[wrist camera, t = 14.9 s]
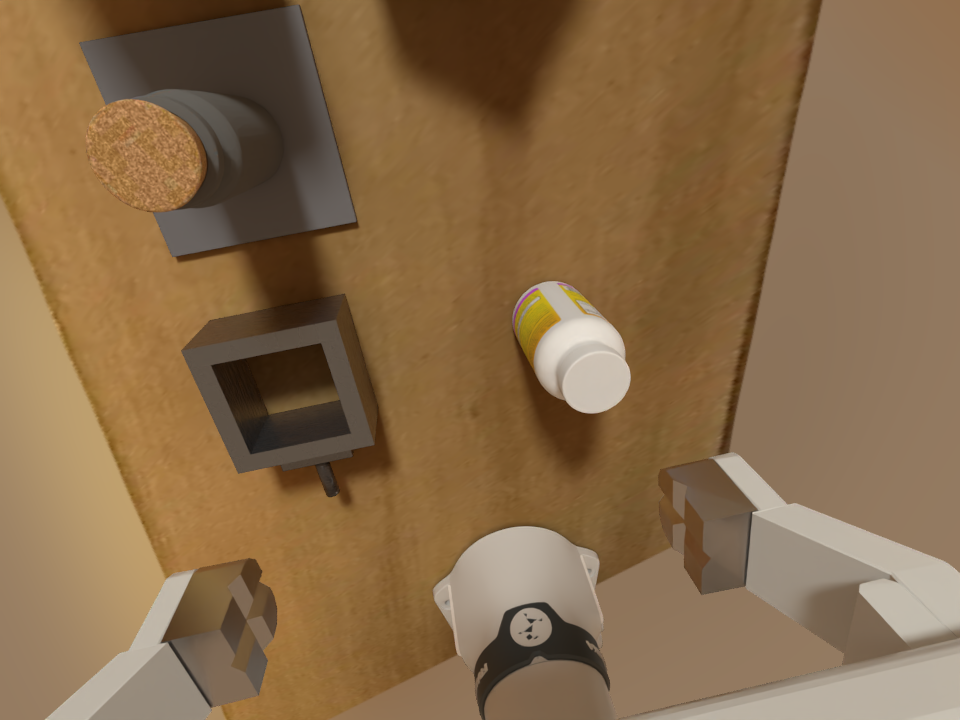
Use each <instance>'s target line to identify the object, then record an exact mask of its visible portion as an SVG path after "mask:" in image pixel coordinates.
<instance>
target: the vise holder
mask: <svg viewBox="0 0 960 720" xmlns="http://www.w3.org/2000/svg"><path fill="white" fill-rule="evenodd" d="M318 343H321V344H322V347H323V350H324V353H325V356H326V359H327V362H328V365H329V368H330V371H331V374H332V377H333V380H334V383H335V386H336V389H337V392H338V395H339V398H340V400H339V401H334V402H329V403H324V404H319V405H314V406H310V407H305V408H300V409H295V410H290V411H285V412H280V413H276V414H271V415H268V412H267V410H266V408H265V405H264V403H263V400H262V398H261V395H260V393H259V390H258V388H257V385H256V383H255V381H254V378H253V376H252V373H251V371H250V368H249V366H248V363H247V361H246V359H245V358H249V357H254V356H259V355H264V354H269V353H274V352H279V351H284V350H289V349H294V348H299V347H303V346H308V345H313V344H318ZM181 352H182V354H183V356H184V358H185V360H186V362H187V365H188V367H189V369H190V371H191V373H192V375H193V377H194V380H195V382H196V384H197V386H198V388H199V390H200V392H201V395H202V397H203V399H204V401H205V403H206V405H207V407H208V410H209V412H210V414H211V416H212V418H213V420H214V422H215V425H216V427H217V429H218V431H219V433H220V435H221V438H222V440H223V442H224V444H225V446H226V448H227V450H228V453H229V455H230V457H231V459H232V461H233V463H234V465H235V468H236V470H237V472H238V474H239V473H244V472H249V471H253V470H258V469H263V468H268V467H272V466H277V465H281V467H282V470H283V471H287V470H292V469H297V468H301V467H306V466H311V465H315V466H316V469H317V472H318V474H319V477H320V479H321V482H322V485H323V487H324V490H325V493H326V495H327V496H328V497H333V496H336V495H337V494H338V493H339V491H340V490H339V487H338V484H337V482H336V479H335V476H334V473H333V471H332V468H331V465H330V461H335V460H339V459H344V458H349V457H353V453H354V449H358V448H362V447H367V446H372V445H375V435H376V425H377V415H378V405H377V402H376V398H375V395H374V391H373V388H372V385H371V381H370V378H369V374H368V371H367V368H366V364H365V361H364V357H363V354H362V351H361V347H360V344H359V340H358V337H357V334H356V330H355V327H354V323H353V320H352V317H351V313H350V310H349V306H348V303H347V300H346V296H345V294H341V295H336V296H331V297H326V298H321V299H316V300H310V301H305V302H300V303H295V304H290V305H285V306H280V307H275V308H270V309H265V310H260V311H255V312H250V313H245V314H240V315H235V316H230V317H224V318H219V319H214V320H210V321H209V322H208V323H207V324H206V325H205V326H204V327H203V328H202V329H201V330H200V331H199V332H198V333H197V334H196V336H195V337H194V338H193V339H192V340H191V341H190V342H189V343H188V344H187V345H186V346H185V347H184V348H183V349H182V350H181Z"/></svg>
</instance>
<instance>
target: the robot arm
mask: <svg viewBox="0 0 960 720" xmlns="http://www.w3.org/2000/svg"><path fill="white" fill-rule="evenodd" d="M658 485H659V487H660V488H661V490H662V491H663V493H664V496H663V497H662V498H661V500H660V501H659V516H660V520H661V524H662V528H663V530H664V533H665V535H666V537H667V539H668V541H669V543H670V545H671V546H672V548H673V549H674V550H676V551H678V552H679V553H681V554H683V555H684V568H685V569H686V571H687V572H688V574H689V576H690V577H691V579H692V580H693V582H694V584H695V585H696V587H697V589H698V590H699V592H700V593H701V595H703V594H708V593H713V592H719V591H724V590H729V589H734V588H739V587H744V586H746V589H747V590H749V591H750V592H752V593H753V594H755V595H756V596H758V597H760V598H761V599H762V600H764V601H765V602H767V603H768V604H770V605H772V606H773V607H774V608H776V609H777V610H779V611H780V612H782V613H784V614H785V615H787V616H788V617H790V618H791V619H793V620H794V621H796V622H797V623H799V624H800V625H802V626H803V627H805V628H806V629H808V630H809V631H811V632H812V633H814V634H815V635H817V636H818V637H820V638H822V639H823V640H825V641H826V642H827V643H829V644H830V645H832V646H833V647H835V648H837V649H838V650H840V651H841V652H842V653H844V658H843V663H842V666H839V667H835V668H830V669H827V670H822V671H818V672H813V673H809V674H805V675H801V676H797V677H792V678H788V679H784V680H780V681H776V682H771V683H767V684H762V685H758V686H754V687H750V688H745V689H741V690H737V691H733V692H728V693H724V694H720V695H716V696H712V697H707V698H703V699H699V700H694V701H690V702H686V703H682V704H678V705H673V706H669V707H665V708H661V709H657V710H652V711H648V712H644V713H640V714H635V715H631V716H627V717H623V718H618V716H617V713H616V711H615V708H614V705H613V702H612V699H611V697H610V694H609V690H610V680H609V677H608V674H607V668H606V664H605V661H604V658H603V656H602V654H601V653H600V650H599V649H600V648H602V636H601V632H602V631H603V630H604V626H603V622H604V619H603V614H602V611H601V608H600V606H599V603H598V600H597V597H596V593H595V587H596V581H597V575H598V570H599V559H598V555H597V554H596V553H595V552H594V551H592V550H589V549H586V548H582V547H577V546H575V545H573V544H572V543H570V542H569V541H568V540H567V539H565V538H564V537H563V536H561V535H560V534H558V533H556V532H554V531H551V530H548V529H544V528H539V527H530V526H523V527H513V528H507V529H503V530H500V531H497V532H494V533H492V534H489V535H487V536H485V537H483V538H482V539H480V540H478V541H477V542H475V543H474V544H473V545H471V546H470V547H469V548H468V549H467V550H466V551H465V552H464V553H463V554H462V556H461V557H460V558H459V560H458V561H457V563H456V565H455V567H454V569H453V570H452V572H451V573H450V574H449V575H448V576H447V577H446V578H444V579H443V580H442V581H440V582H439V583H438V584H437V585H436V586H435V587H434V589H433V596H434V600H435V602H436V604H437V605H438V607H439V609H440V610H441V612H442V614H443V615H444V617H445V618H446V620H447V622H448V623H449V625H450V626H451V628H452V630H453V631H454V639H455V646H456V651H457V655H458V656H461V657H462V659H463V660H464V663H465V664H466V665H467V667H468V668H469V669H470V670H471V671H472V672H473V673H474V676H475V693H476V700H477V703H478V706H479V711H480V715H481V717H482V720H960V573H959V572H958V571H956V570H955V569H954V568H953V567H952V566H951V565H949V564H948V563H947V562H945V561H942V560H940V559H937V558H934V557H932V556H929V555H926V554H924V553H921V552H919V551H916V550H914V549H911V548H909V547H906V546H904V545H901V544H899V543H896V542H893V541H891V540H888V539H886V538H883V537H881V536H878V535H875V534H873V533H870V532H868V531H865V530H863V529H860V528H858V527H855V526H853V525H850V524H847V523H845V522H842V521H840V520H837V519H835V518H832V517H830V516H827V515H824V514H822V513H819V512H817V511H814V510H812V509H809V508H806V507H804V506H801V505H799V504H796V503H794V504H789V505H788V504H787V503H786V502H785V501H784V500H783V499H782V498H781V497H780V496H779V495H778V494H777V493H776V492H775V491H774V490H773V489H772V488H771V487H770V486H769V485H768V484H767V483H766V482H765V481H764V480H763V479H762V478H761V477H760V476H759V475H758V474H757V473H756V472H755V471H754V470H753V469H752V468H751V467H750V466H749V465H748V464H747V463H746V462H745V461H744V460H743V459H742V458H741V457H740V456H739V455H738V454H735V453H733V452H732V453H727V454H723V455H719V456H715V457H710V458H708V459H703V460H699V461H695V462H690V463H686V464H681V465H677V466H672V467H668V468H663V469H660V472H659V475H658ZM261 574H262V570H261V568H260V567H259V565H258V563H257V561H256V560H255V559H250V558H248V559H243V560H238V561H233V562H228V563H222V564H217V565H212V566H207V567H202V568H199V569H194V570H189V571H184V572H178V573H174V574H172V575H171V576H170V577H168V578H167V579H166V581H165V583H164V585H163V587H162V588H161V590H160V592H159V594H158V596H157V598H156V600H155V602H154V603H153V605H152V607H151V609H150V611H149V613H148V615H147V617H146V619H145V621H144V623H143V624H142V626H141V628H140V630H139V632H138V634H137V636H136V637H135V639H134V641H133V643H132V645H131V647H130V649H129V651H126V652H122V653H119V654H118V655H117V656H116V657H115V658H114V659H113V660H111V661H110V662H109V663H108V664H107V665H106V666H105V667H104V668H102V669H101V670H100V671H99V672H98V673H97V674H96V675H95V676H94V677H92V678H91V679H90V680H89V681H88V682H87V683H86V684H84V685H83V686H82V687H81V688H80V689H79V690H78V691H77V692H75V693H74V694H73V695H72V696H71V697H70V698H69V699H68V700H67V701H65V702H64V703H63V704H62V705H61V706H60V707H59V708H58V709H56V710H55V711H54V712H53V713H52V714H51V715H50V716H49V717H47V718H46V719H45V720H205V719H206V718H207V716H208V715H209V714H210V712H211V711H212V709H211V708H212V707H216V706H220V705H224V704H228V703H232V702H235V701H239V700H243V699H247V698H251V697H255V696H259V692H260V688H261V684H262V681H263V677H264V673H265V669H266V666H267V662H268V660H267V658H266V656H265V654H264V652H263V650H264V649H265V648H266V647H267V645H268V644H269V643H270V642H271V641H272V640H273V638H274V634H275V630H276V626H277V606H276V602H275V597H274V595H273V593H272V591H271V588H270V587H268V586H266V585H264V584H262V583H261V582H259V580H260V577H261Z"/></svg>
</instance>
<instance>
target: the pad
mask: <svg viewBox="0 0 960 720" xmlns="http://www.w3.org/2000/svg"><path fill="white" fill-rule="evenodd" d="M79 44H80V46H81V48H82V51H83V53H84V55H85V58H86V60H87V62H88V64H89V67H90V69H91V71H92V74H93V76H94V78H95V80H96V83H97V85H98V87H99V90H100V92H101V94H102V97H103V99H104V101H105V103H106V105H108V104H109V103H112V102H115V101H118V100H124V99H131V98H134V97H137V96H144V95H147V94H149V93H152V92H155V91H159V90H165V89H180V90H192V91H203V92H212V93H220V94H229V95H235V96H241V97H244V98H247V99H250V100H252V101H254V102H256V103H257V104H259V105H260V106H262V107H263V108H264V109H265V110H267V111H268V112H269V114H270V115H271V116H272V117H273V119H274V120H275V121H276V123H277V125H278V127H279V129H280V131H281V135H282V138H283V145H284V152H283V158H282V161H281V164H280V166H279V168H278V170H277V171H276V172H275V174H274V175H273V176H272V177H270V178H269V179H268V180H266V181H265V182H263V183H261V184H259V185H257V186H255V187H253V188H251V189H249V190H247V191H245V192H243V193H241V194H239V195H237V196H235V197H232V198H230V199H228V200H226V201H224V202H221V203H219V204H216V205H214V206H210V207H205V208H188V209H182V210H172V211H168V212H158V213H157V212H153V214H154V216H155V218H156V221H157V223H158V225H159V227H160V230H161V232H162V234H163V237H164V239H165V241H166V244H167V246H168V248H169V250H170V253H171V255H172V257H175V256H180V255H186V254H191V253H196V252H201V251H206V250H212V249H217V248H222V247H227V246H232V245H238V244H243V243H248V242H253V241H259V240H264V239H269V238H274V237H279V236H285V235H290V234H295V233H300V232H305V231H311V230H316V229H321V228H326V227H332V226H337V225H342V224H347V223H352V222H357V218H356V214H355V211H354V207H353V203H352V199H351V196H350V192H349V188H348V184H347V181H346V177H345V173H344V169H343V166H342V162H341V158H340V154H339V151H338V147H337V143H336V139H335V135H334V132H333V128H332V124H331V120H330V117H329V113H328V109H327V105H326V102H325V98H324V94H323V90H322V87H321V83H320V79H319V75H318V72H317V68H316V64H315V60H314V56H313V53H312V49H311V45H310V41H309V38H308V34H307V30H306V26H305V23H304V19H303V15H302V11H301V8H300V5H293V6H288V7H282V8H276V9H270V10H265V11H259V12H253V13H247V14H241V15H236V16H230V17H224V18H218V19H213V20H207V21H201V22H195V23H189V24H184V25H178V26H172V27H166V28H160V29H155V30H149V31H143V32H137V33H132V34H126V35H120V36H114V37H108V38H103V39H97V40H91V41H85V42H80V43H79Z"/></svg>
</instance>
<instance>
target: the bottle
mask: <svg viewBox="0 0 960 720" xmlns="http://www.w3.org/2000/svg"><path fill="white" fill-rule="evenodd" d="M86 152H87V156H88V160H89V163H90V165H91V168H92V170H93V171H94V173H95V175H96V177H97V178H98V180H99V181H100V182H101V183H102V185H103V186H104V187H105V188H106V189H107V190H108V191H109V192H110V193H111V194H112V195H114V196H115V197H116V198H118V199H119V200H120V201H122V202H124V203H125V204H127V205H129V206H131V207H134V208H136V209H139V210H143V211H147V212H157V213H158V212H168V211H172V210H182V209H188V208H205V207H210V206H214V205H216V204H219V203H221V202H224V201H226V200H228V199H230V198H232V197H235V196H237V195H239V194H241V193H243V192H245V191H247V190H249V189H251V188H253V187H255V186H257V185H259V184H261V183H263V182H265V181H266V180H268V179H269V178H270V177H272V176H273V175H274V174H275V172H276V171H277V170H278V168H279V166H280V164H281V161H282V158H283V152H284V145H283V138H282V135H281V131H280V129H279V127H278V125H277V123H276V121H275V120H274V119H273V117H272V116H271V115H270V114H269V112H268V111H267V110H265V109H264V108H263V107H262V106H260V105H259V104H257V103H256V102H254V101H252V100H250V99H247V98H244V97H241V96H235V95H229V94H220V93H212V92H203V91H192V90H180V89H165V90H159V91H155V92H152V93H149V94H147V95H144V96H137V97H134V98H131V99H124V100H118V101H115V102H112V103H109V104H108V105H106V106H104V107H102V108H101V109H100V110H99V111H98V112H97V113H96V114H95V115H94V117H93V118H92V120H91V121H90V124H89V126H88V129H87V134H86Z"/></svg>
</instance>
